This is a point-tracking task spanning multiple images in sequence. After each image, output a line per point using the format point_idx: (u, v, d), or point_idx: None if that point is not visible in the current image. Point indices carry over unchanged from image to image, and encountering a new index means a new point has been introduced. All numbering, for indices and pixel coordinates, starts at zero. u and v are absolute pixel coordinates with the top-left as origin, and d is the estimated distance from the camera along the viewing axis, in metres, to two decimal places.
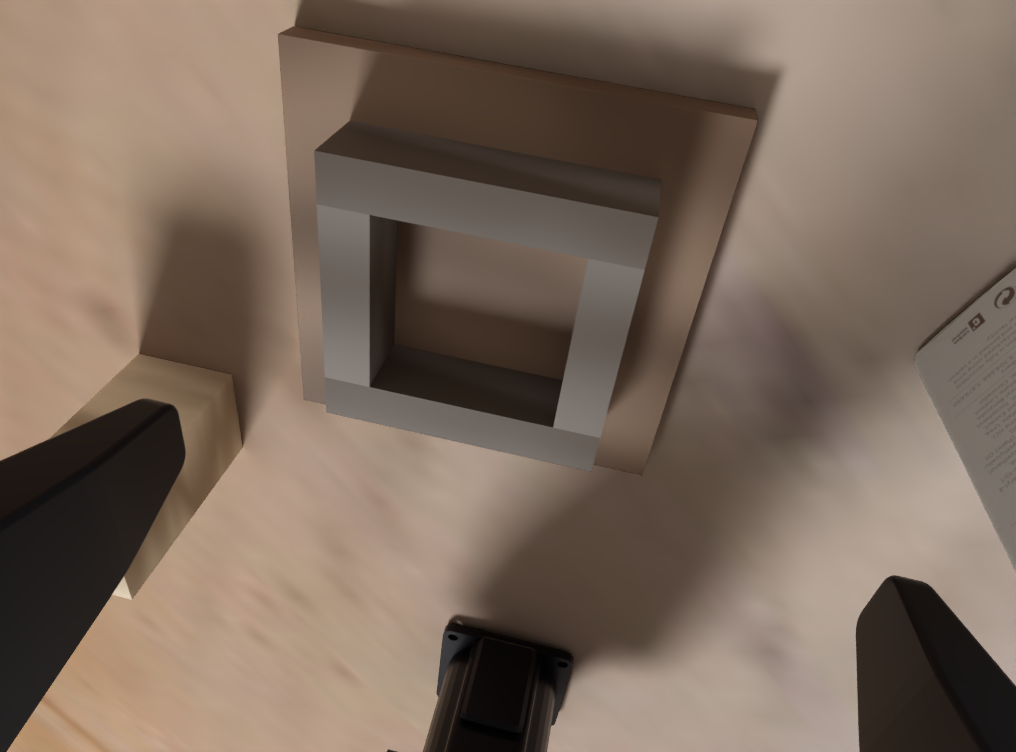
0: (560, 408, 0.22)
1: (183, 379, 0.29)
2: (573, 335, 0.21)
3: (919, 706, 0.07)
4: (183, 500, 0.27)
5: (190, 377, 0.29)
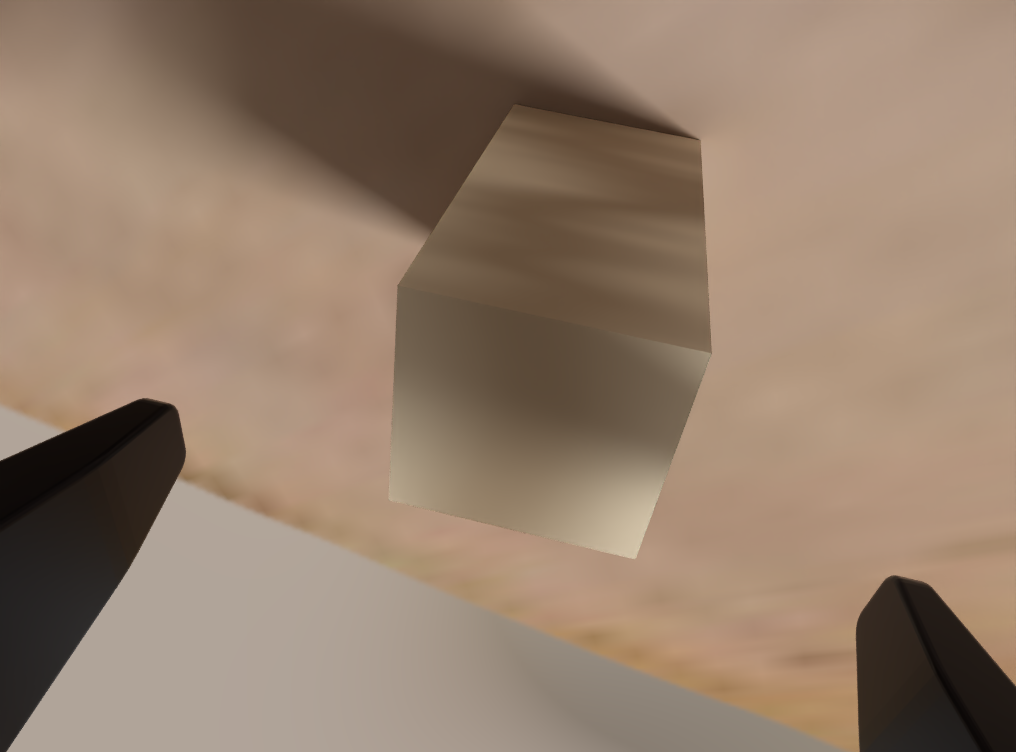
0: None
1: None
2: None
3: (919, 706, 0.07)
4: (631, 214, 0.12)
5: None
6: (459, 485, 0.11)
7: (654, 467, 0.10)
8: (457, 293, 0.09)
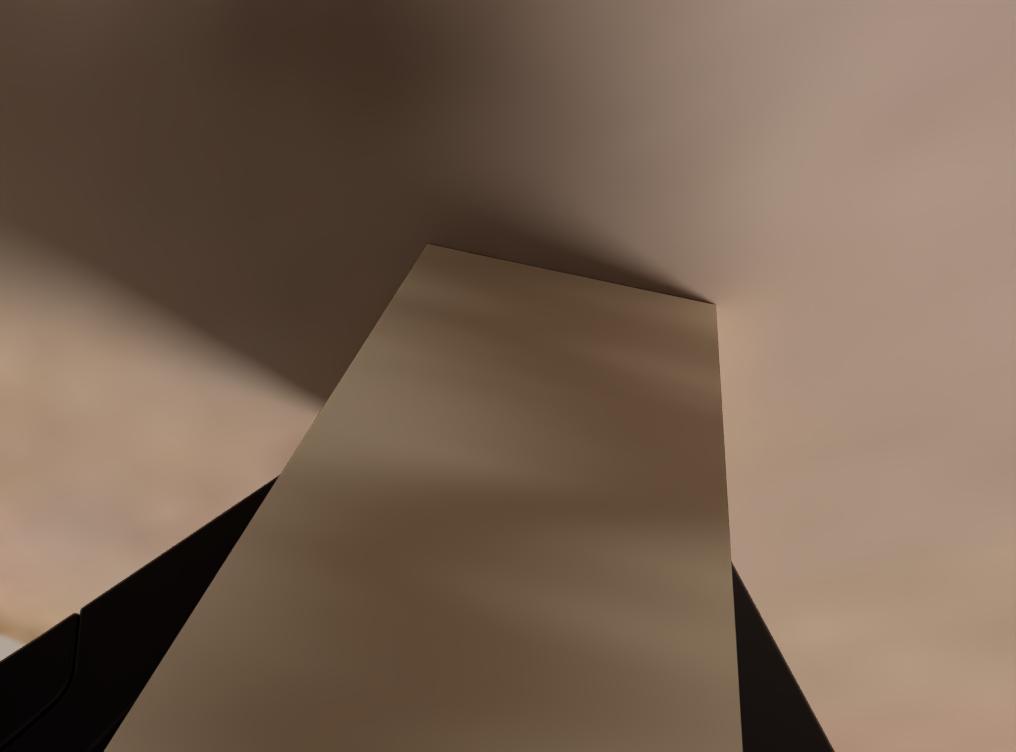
0: None
1: None
2: None
3: None
4: (593, 528, 0.06)
5: None
6: None
7: None
8: None
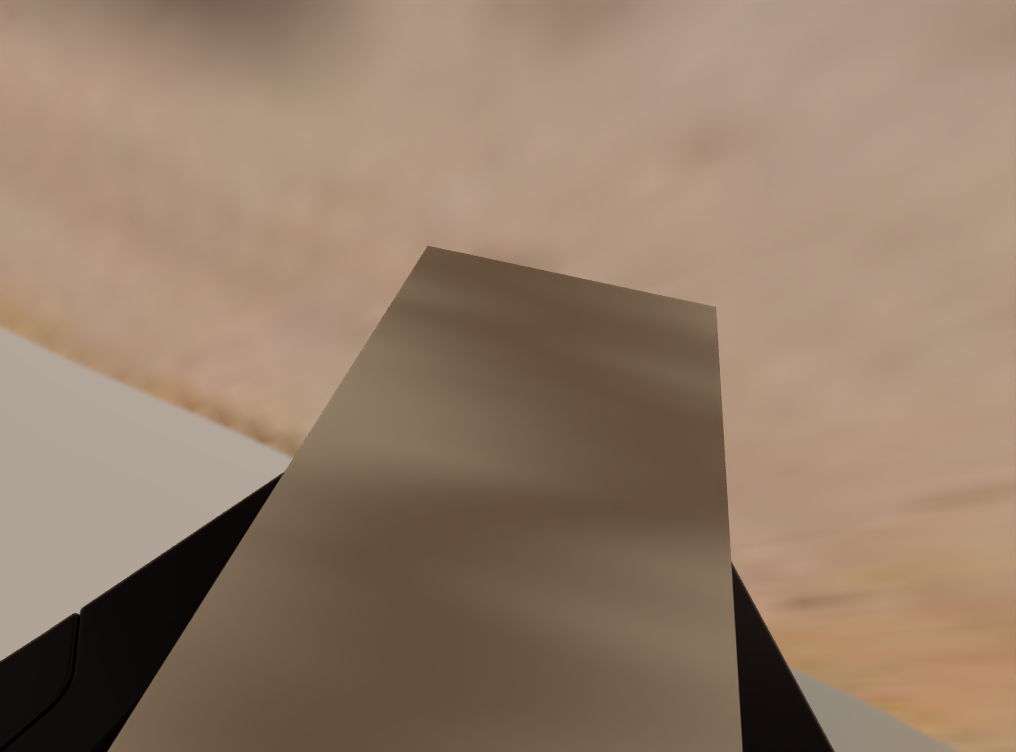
0: None
1: None
2: None
3: None
4: (594, 530, 0.06)
5: None
6: None
7: None
8: None
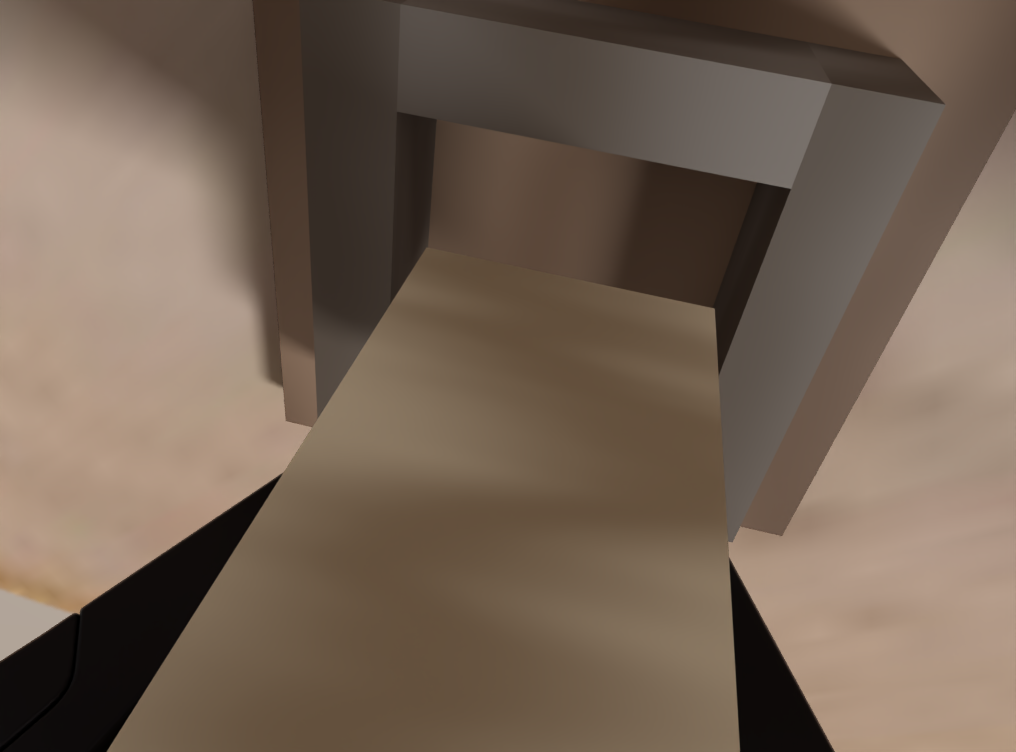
0: (738, 170, 0.11)
1: None
2: (555, 140, 0.11)
3: None
4: (592, 532, 0.06)
5: None
6: None
7: None
8: None
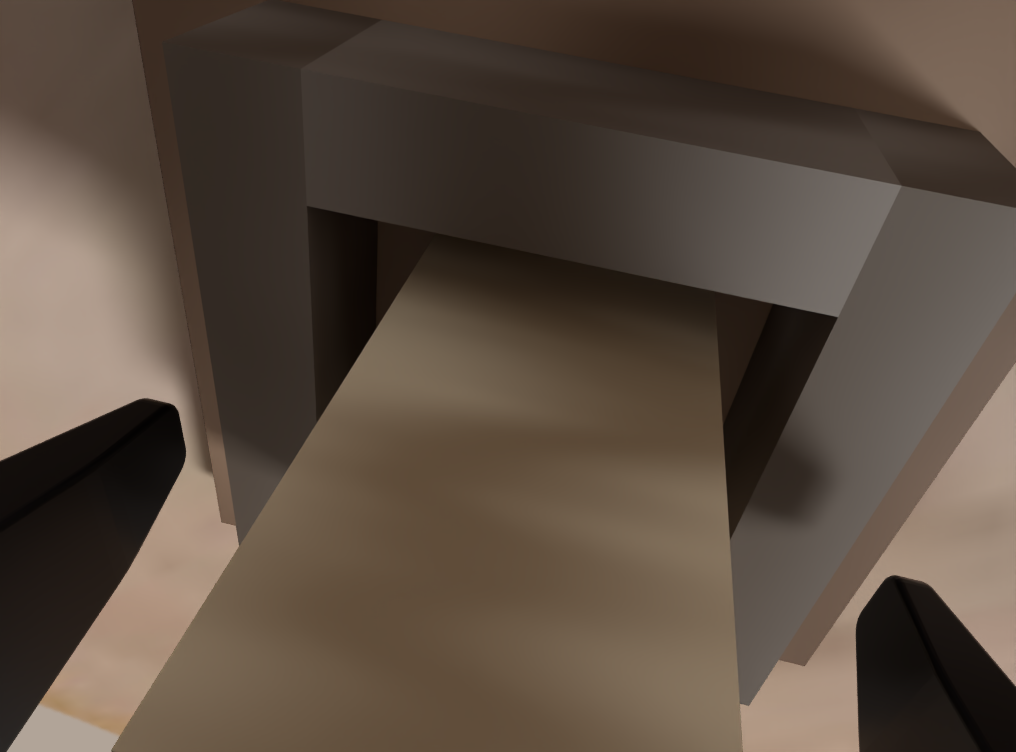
0: (766, 292, 0.08)
1: None
2: (518, 247, 0.08)
3: (919, 706, 0.07)
4: (604, 459, 0.07)
5: None
6: None
7: None
8: None
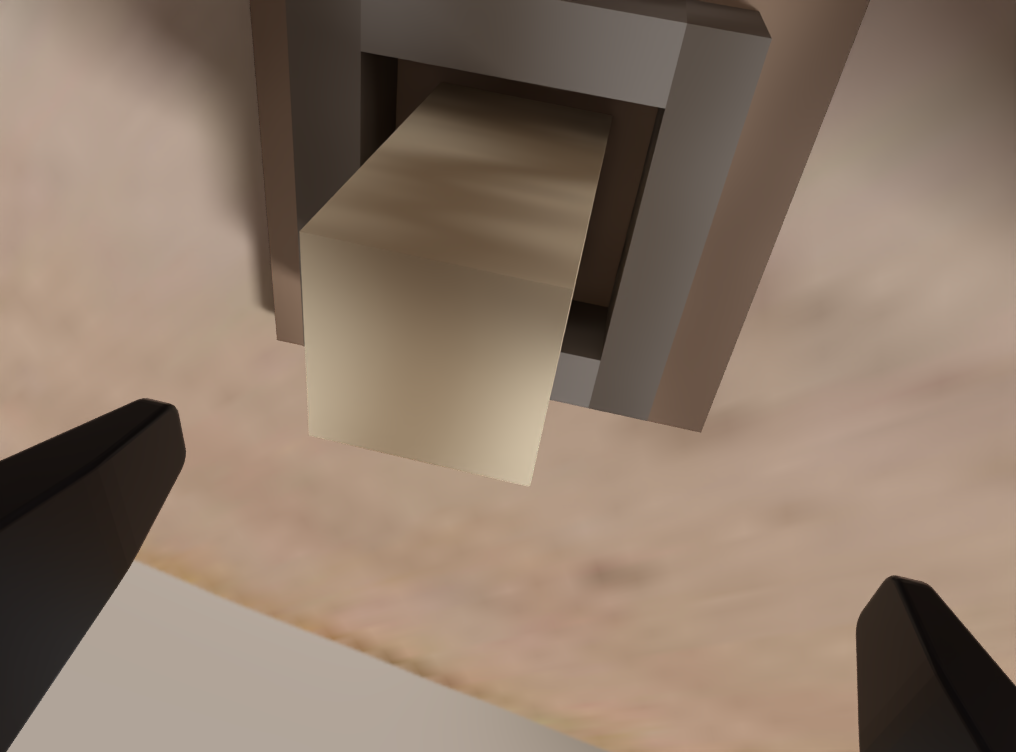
0: (624, 94, 0.14)
1: None
2: (483, 72, 0.14)
3: (919, 706, 0.07)
4: (530, 176, 0.13)
5: None
6: (369, 419, 0.12)
7: (536, 397, 0.11)
8: (352, 238, 0.10)
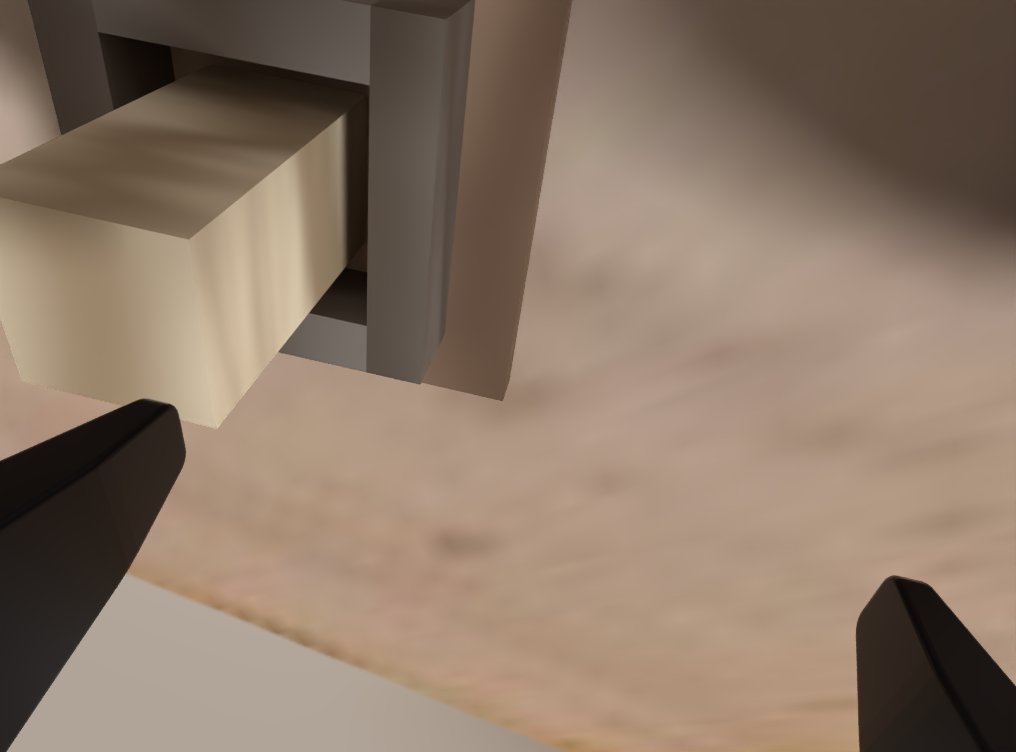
0: (332, 72, 0.15)
1: None
2: (207, 51, 0.15)
3: (919, 706, 0.07)
4: (230, 145, 0.14)
5: None
6: (66, 364, 0.14)
7: (194, 342, 0.13)
8: (2, 193, 0.12)
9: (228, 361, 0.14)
